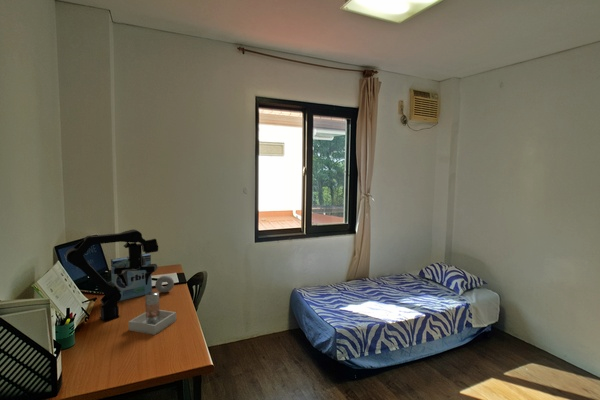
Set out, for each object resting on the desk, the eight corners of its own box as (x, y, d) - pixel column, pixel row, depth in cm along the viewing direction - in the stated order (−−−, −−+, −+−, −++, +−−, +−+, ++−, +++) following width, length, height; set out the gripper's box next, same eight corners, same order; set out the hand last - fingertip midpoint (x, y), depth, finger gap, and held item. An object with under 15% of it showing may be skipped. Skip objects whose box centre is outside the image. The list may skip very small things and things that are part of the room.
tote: (154, 334, 134) (154, 326, 134) (128, 330, 138) (128, 321, 138) (176, 320, 148) (176, 312, 147) (152, 316, 152) (151, 308, 151)
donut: (155, 294, 179) (154, 277, 178) (155, 292, 182) (155, 275, 181) (174, 292, 183) (173, 275, 182) (174, 290, 186) (173, 273, 185)
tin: (144, 326, 140) (143, 296, 138) (148, 320, 145) (147, 291, 144) (157, 326, 140) (156, 296, 139) (161, 320, 146) (160, 291, 145)
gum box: (149, 291, 184) (148, 252, 182) (152, 293, 181) (151, 254, 179) (112, 300, 171) (110, 259, 169) (114, 302, 167) (112, 260, 165)
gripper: (159, 250, 165) (160, 279, 166) (121, 251, 162) (123, 281, 163) (153, 255, 154) (154, 286, 155) (112, 257, 151) (114, 288, 152)
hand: (136, 285), depth 157 cm, fingers open, 9 cm apart
